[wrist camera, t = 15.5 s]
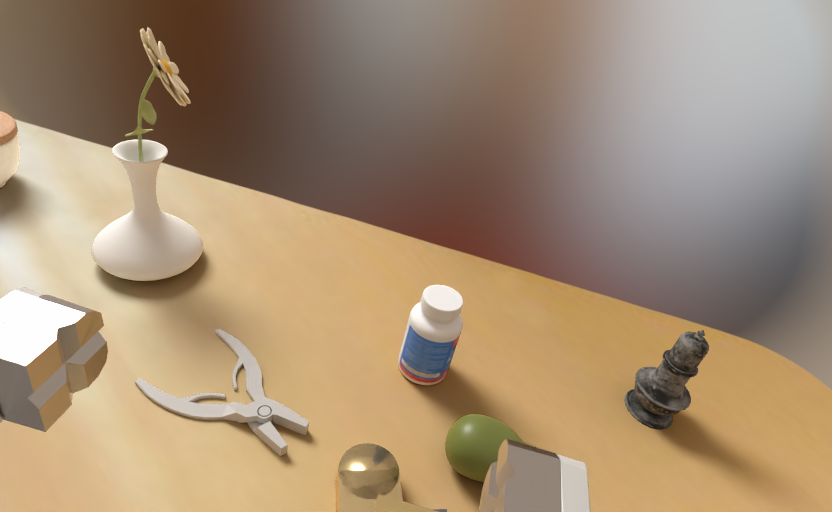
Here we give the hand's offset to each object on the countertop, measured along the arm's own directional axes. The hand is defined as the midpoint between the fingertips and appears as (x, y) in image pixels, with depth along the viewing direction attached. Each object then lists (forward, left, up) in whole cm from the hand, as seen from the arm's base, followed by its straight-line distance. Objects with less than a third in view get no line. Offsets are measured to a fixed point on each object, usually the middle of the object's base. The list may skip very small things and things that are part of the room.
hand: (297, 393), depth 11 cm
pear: (+19, +19, -34) cm, 43 cm away
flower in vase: (-15, +47, -34) cm, 60 cm away
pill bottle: (+15, +31, -34) cm, 48 cm away
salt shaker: (+40, +26, -34) cm, 58 cm away
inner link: (+8, +16, -33) cm, 38 cm away
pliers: (-4, +27, -34) cm, 43 cm away
